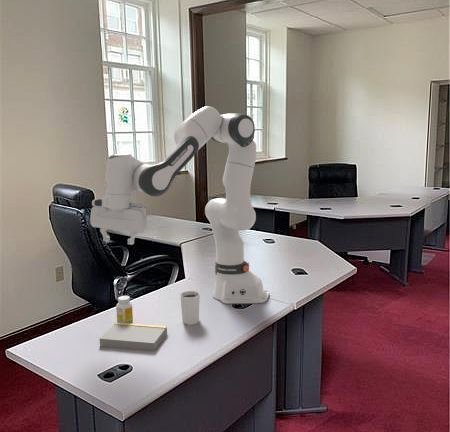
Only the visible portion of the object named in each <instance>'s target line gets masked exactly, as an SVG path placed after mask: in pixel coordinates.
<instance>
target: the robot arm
mask: <svg viewBox="0 0 450 432" xmlns="http://www.w3.org/2000/svg"><path fill="white" fill-rule="evenodd" d="M254 122H255V121H254V120H253V118H252V117H251V116H250V115H247V114H245V113H241V112H240V113H236V112H235V113H233V112H231V113H230V112H229V113H228V112H227V113H223V114H220V113H219V111H218V110H217V109H216V108H215V107H213V106H209V105H206V106H204V107H201V108H199V109H197V110H196V111H194V112H193V113H192V114H191V115H189V116H188V117H187V118H186V119H184V120H183V121H182V122H181V123H180V124H179V125H178V126H177V127H176V129H175V130H174V133H173V138H174V142H175V144H176V145H175V148H174V149H173V150H172V151H171V152H170V153H169V154H168V155H167V156H166V157H165V158H164V159H163V160H162V161H161V162H158V163H156V164H147V163H145V162H143V161H141V160H139V159H138V158H136V157H134V156H133V155H132V154H131V153H129V152H122V153H115V154H111V155H110V156H108V158H107V161H106V165H105V182H106V189H105V196H102V197H100V198H99V197H98V198H95V199H93V200H92V201H91V205H92V207H91V210H90V220H89V221H90V223H89V224H90V225H91V226H92V228H97V229H98V228H99V232H100V234H101V235H102V238H103V239H102V241H103V242H110V241H111V239H110V238H111V236H110V235H108V232H107V231H108V230H114V231H115V230H116V231H125V232H130V235H131V236H130V237H129V238H127V245H131V246H132V245H134V244H135V238H136V237H137V235H138V233H140V234H141V233H145V232H146V231H147V230H148V219H147V218H148V216H147V215H148V213H147V212H148V211H147V210H148V209H147V207H146V206H144V204H141V203H133V196H134V195H133V194H134V193H133V192H134V191H138V192H141V193H144V194H147V195H149V196H150V197H160V196H163V195H164V194H166V193H167V192H168V190H170V187H171V186H172V184H173V181H174V179H176V176H177V175H178V174H179V173H180V172H181V170H183V169H184V167H185V166H186V165H188V163H189V162H190V161H191V160H192V159H193V157H194V156H195V155H196V154H197V152H199V150H200V149H201V148H202V147H203V146H204V145H205V144H207V143H208V141H210V139H211V140H212V141H214V142H216V143H220V144H222V143H223V144H227V146H228V153H227V154H228V155H227V157H226V163H225V168H224V172H223V174H222V175H223V176H222V184H223V186H224V189H225V197H217V198H212V199H210V200H209V201H208V202H207V203H206V205H205V207H204V214H205V216H206V219H207V220H208V221H209V223H210V227H211V230H212V234H213V237H214V241H215V262H214V273H215V283H214V289H213V292H212V296H213V298H215V299H216V300H218V301H220V302H222V303H223V304H230V305H231V304H232V305H233V304H263V303H265V302H267V300H268V299H269V297H270V294H269V290H267V288H264V285H263V282H262V279H261V278H260V277H258V276H257V275H256V274H255V273H253V272H252V271H251V270H250V263H249V261H245V245H244V244H245V243H244V241H243V239H242V237H241V235H240V233H239V231H248V230H250V229H251V228H252V227H253V226H254V224H255V222H256V220H257V215H256V214H257V213H256V211H255V209H254V207H253V205H252V199H251V186H252V185H251V184H252V179H253V175H254V169H255V164H256V159H257V144H256V141H255V140H254V139H255V123H254Z"/></svg>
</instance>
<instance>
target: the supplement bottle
mask: <svg viewBox="0 0 450 432" xmlns="http://www.w3.org/2000/svg"><path fill="white" fill-rule="evenodd" d="M130 301H131V297H130V296H129V295H122V296H119V297H117V302H118V303H116V307H115V310H116V322H118V323H130V324H134V317H133V315H134V314H133V304H132V302H130Z"/></svg>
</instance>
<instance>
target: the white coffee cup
mask: <svg viewBox="0 0 450 432" xmlns="http://www.w3.org/2000/svg"><path fill="white" fill-rule="evenodd" d="M179 295H180V309H181V318H182V323H183V324H185V325H190V326H191V325H196V324H198V323H200V296H201V295H200V292H198V291H196V290H186V291H182V292H181V293H179Z"/></svg>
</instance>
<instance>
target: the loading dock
mask: <svg viewBox="0 0 450 432" xmlns="http://www.w3.org/2000/svg"><path fill="white" fill-rule="evenodd" d="M167 334H168V326H167V325H166V326H165V325H154V324H142V323H132V324H130V323H118V322H117V321H116V322H115V323H114V324H113V325H112V326H110V328H109V329H108V330H107V331H106V332H105V333H104V334H103V335H101V336H100V337H99V346H100V347H105V348H107V347H109V348H119V349H120V348H121V349H129V350H139V351H140V350H142V351H150V352H151V351H153V352H155V350H156V349H157V348H158V347H159V345H160V344H161V343H162V341H163V340H164V338H165V337H166V336H167Z"/></svg>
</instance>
